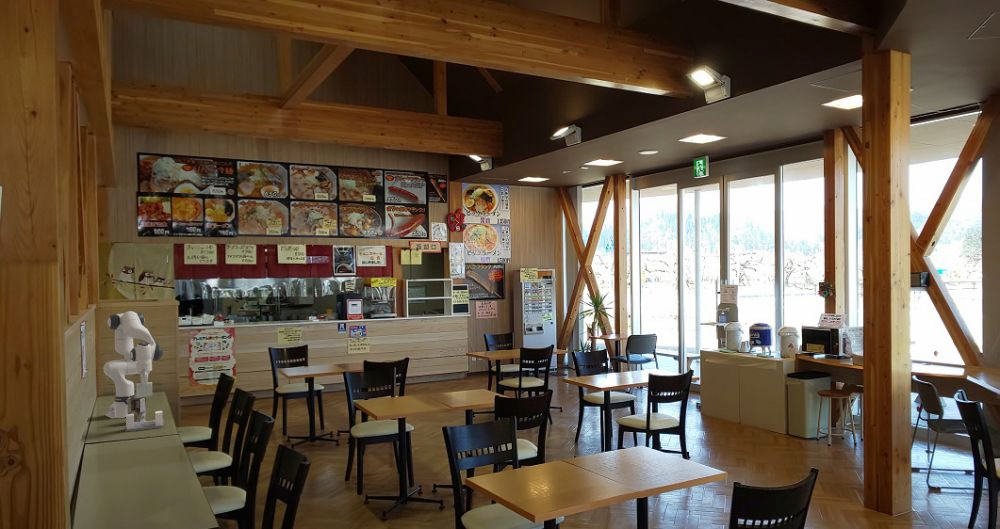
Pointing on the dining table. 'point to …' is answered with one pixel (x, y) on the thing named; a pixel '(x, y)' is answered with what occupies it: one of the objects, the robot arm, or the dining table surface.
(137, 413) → the coffee box
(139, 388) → the block
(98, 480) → the dining table surface
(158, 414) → the module rack
